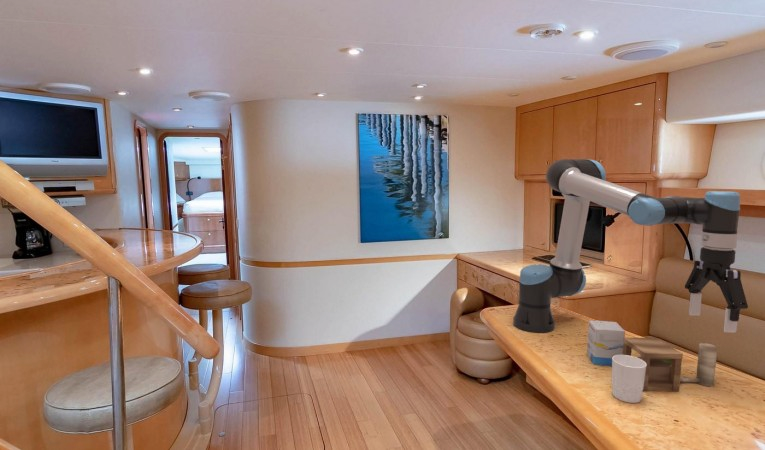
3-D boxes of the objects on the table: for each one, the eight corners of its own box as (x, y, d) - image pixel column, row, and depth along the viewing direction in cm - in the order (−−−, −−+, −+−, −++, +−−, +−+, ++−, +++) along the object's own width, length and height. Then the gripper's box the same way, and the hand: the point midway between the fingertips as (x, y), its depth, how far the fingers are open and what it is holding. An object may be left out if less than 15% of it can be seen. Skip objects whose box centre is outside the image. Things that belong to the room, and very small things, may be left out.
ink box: (623, 367, 130) (626, 330, 129) (593, 364, 132) (595, 328, 131) (614, 355, 139) (616, 321, 137) (586, 353, 140) (588, 319, 139)
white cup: (604, 388, 117) (606, 354, 116) (633, 389, 117) (635, 354, 116) (619, 404, 110) (621, 367, 108) (650, 404, 109) (653, 367, 108)
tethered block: (635, 376, 124) (638, 340, 123) (704, 378, 124) (707, 341, 122) (647, 387, 118) (650, 349, 117) (719, 388, 118) (723, 350, 116)
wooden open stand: (621, 372, 127) (623, 337, 126) (655, 373, 127) (658, 338, 125) (641, 391, 116) (644, 353, 115) (679, 392, 116) (682, 353, 114)
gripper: (674, 240, 128) (669, 308, 131) (740, 256, 104) (731, 340, 106) (700, 241, 128) (694, 309, 131) (771, 256, 103) (763, 340, 106)
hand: (711, 323), depth 118 cm, fingers open, 13 cm apart
